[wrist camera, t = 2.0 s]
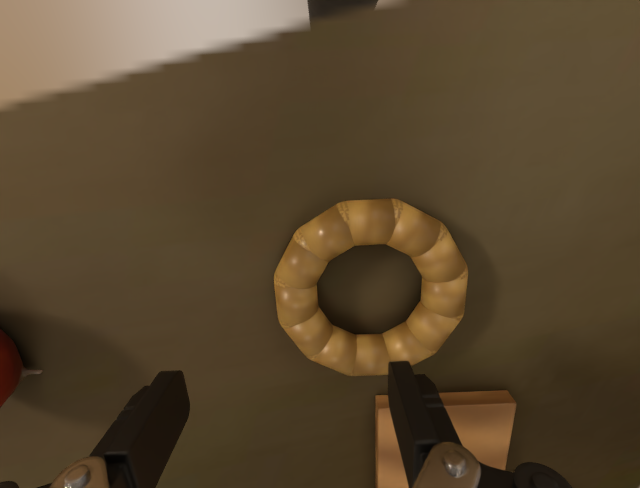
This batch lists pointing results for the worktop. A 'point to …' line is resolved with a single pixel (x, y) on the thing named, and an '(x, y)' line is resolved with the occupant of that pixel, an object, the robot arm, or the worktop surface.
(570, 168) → the worktop surface
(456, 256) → the ring
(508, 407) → the wooden peg stand
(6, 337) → the fruit
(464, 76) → the worktop surface
